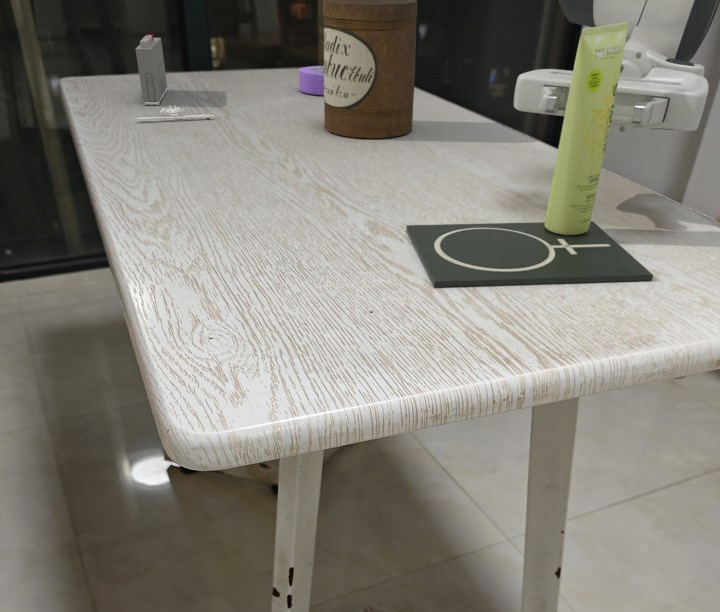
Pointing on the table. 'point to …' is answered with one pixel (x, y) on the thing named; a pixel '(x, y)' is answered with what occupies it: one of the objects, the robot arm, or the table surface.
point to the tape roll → (312, 80)
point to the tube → (585, 129)
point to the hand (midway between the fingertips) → (592, 110)
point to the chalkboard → (520, 255)
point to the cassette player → (151, 68)
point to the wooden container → (369, 67)
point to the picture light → (176, 113)
